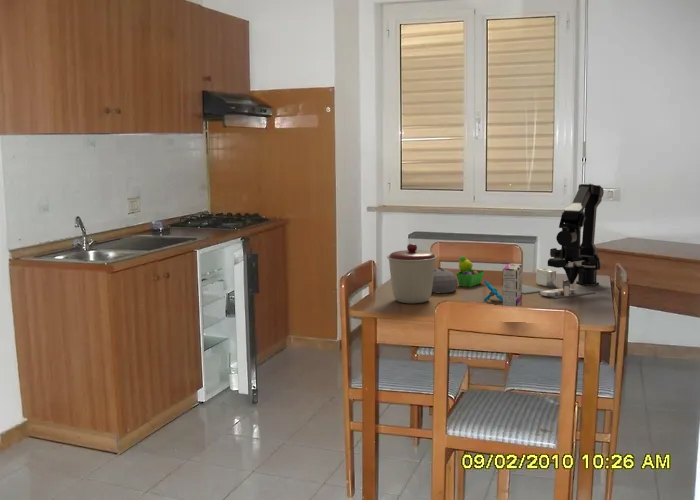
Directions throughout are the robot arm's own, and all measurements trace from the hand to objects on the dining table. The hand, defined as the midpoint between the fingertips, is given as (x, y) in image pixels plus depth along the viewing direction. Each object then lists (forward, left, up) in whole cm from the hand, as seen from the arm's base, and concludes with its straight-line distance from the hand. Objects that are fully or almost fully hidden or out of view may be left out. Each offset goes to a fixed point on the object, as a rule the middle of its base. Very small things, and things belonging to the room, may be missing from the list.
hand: (571, 283), depth 274 cm
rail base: (+2, 0, -4) cm, 4 cm away
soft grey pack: (+40, -31, -4) cm, 50 cm away
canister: (+59, -17, -4) cm, 62 cm away
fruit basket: (+23, -34, -4) cm, 41 cm away
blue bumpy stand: (+34, -2, -4) cm, 34 cm away
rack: (+7, +1, -3) cm, 8 cm away
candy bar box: (+41, +18, -4) cm, 45 cm away
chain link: (-3, -18, -4) cm, 18 cm away
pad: (+11, -14, -4) cm, 18 cm away
